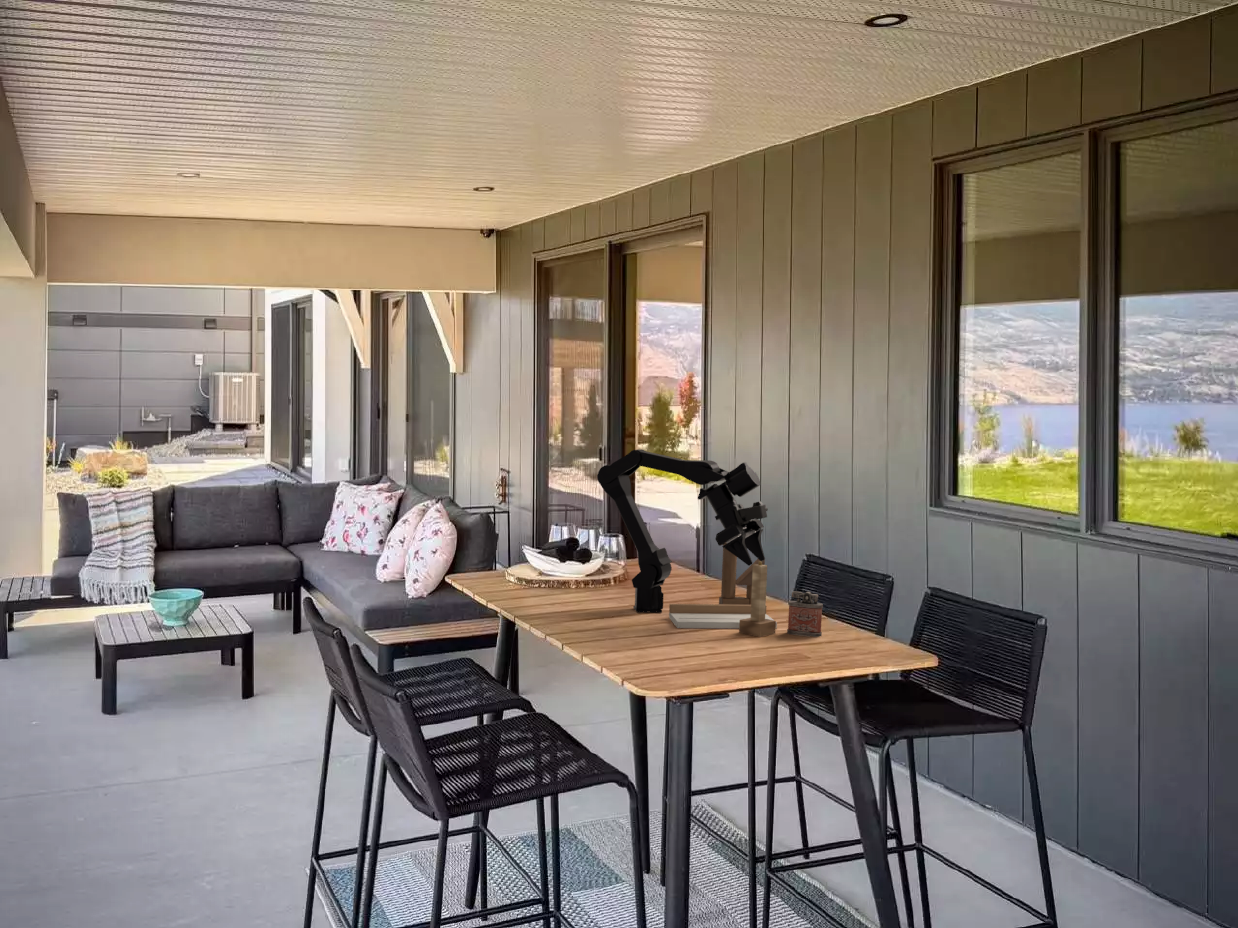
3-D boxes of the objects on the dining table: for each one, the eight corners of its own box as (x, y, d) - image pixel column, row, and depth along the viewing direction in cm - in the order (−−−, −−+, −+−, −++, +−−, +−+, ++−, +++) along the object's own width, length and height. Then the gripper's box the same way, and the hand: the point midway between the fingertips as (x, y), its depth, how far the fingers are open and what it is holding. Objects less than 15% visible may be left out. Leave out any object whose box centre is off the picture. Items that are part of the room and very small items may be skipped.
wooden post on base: (739, 632, 275) (742, 561, 274) (754, 629, 279) (757, 558, 278) (760, 636, 271) (763, 564, 270) (775, 633, 275) (778, 562, 274)
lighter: (822, 634, 276) (824, 592, 275) (820, 637, 272) (822, 594, 272) (788, 631, 278) (790, 589, 277) (785, 634, 275) (787, 591, 274)
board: (677, 627, 278) (678, 613, 277) (669, 617, 289) (669, 603, 289) (776, 628, 281) (777, 614, 280) (764, 618, 292) (765, 604, 292)
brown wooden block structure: (762, 613, 300) (765, 542, 299) (722, 613, 298) (724, 542, 297) (758, 610, 304) (761, 541, 302) (718, 610, 302) (720, 540, 301)
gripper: (739, 492, 276) (772, 550, 274) (764, 487, 293) (796, 542, 290) (701, 515, 281) (733, 573, 278) (728, 510, 298) (759, 564, 295)
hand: (757, 562), depth 285 cm, fingers open, 9 cm apart
